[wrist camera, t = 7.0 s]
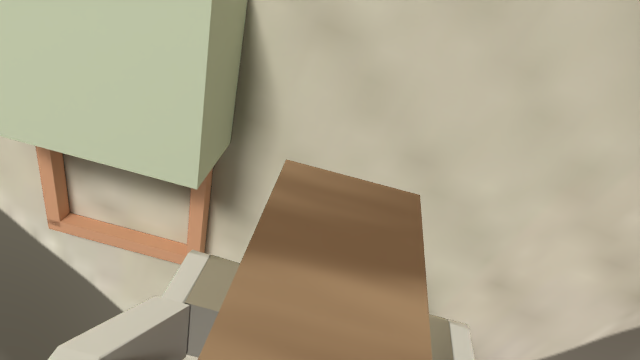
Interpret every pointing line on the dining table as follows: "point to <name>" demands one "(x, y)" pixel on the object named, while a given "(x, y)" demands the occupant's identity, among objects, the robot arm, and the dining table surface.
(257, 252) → the wooden handled metal tool
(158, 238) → the frame
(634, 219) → the dining table surface
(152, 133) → the stand
